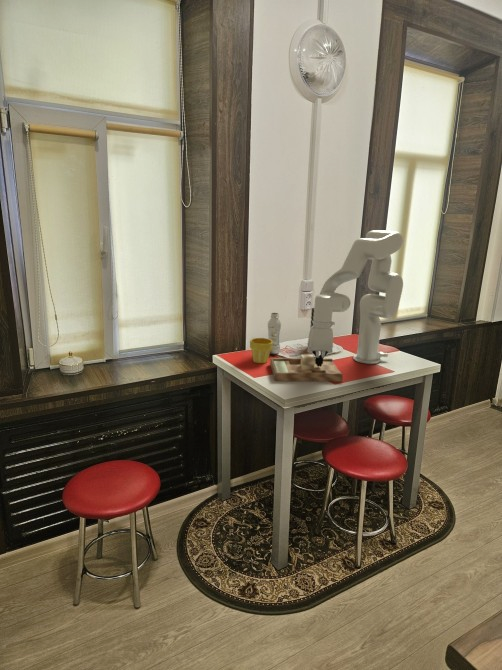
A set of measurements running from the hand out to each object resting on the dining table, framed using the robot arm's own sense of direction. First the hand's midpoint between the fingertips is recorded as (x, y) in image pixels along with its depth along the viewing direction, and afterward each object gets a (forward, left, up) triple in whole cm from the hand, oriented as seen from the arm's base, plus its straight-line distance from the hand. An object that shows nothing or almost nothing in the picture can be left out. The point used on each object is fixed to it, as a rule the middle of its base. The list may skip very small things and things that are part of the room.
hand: (318, 365), depth 189 cm
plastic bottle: (+17, -26, -4) cm, 31 cm away
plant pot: (+24, -15, -4) cm, 29 cm away
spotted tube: (-7, -37, -4) cm, 38 cm away
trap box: (+6, 0, -4) cm, 7 cm away
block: (+5, 0, -1) cm, 5 cm away
